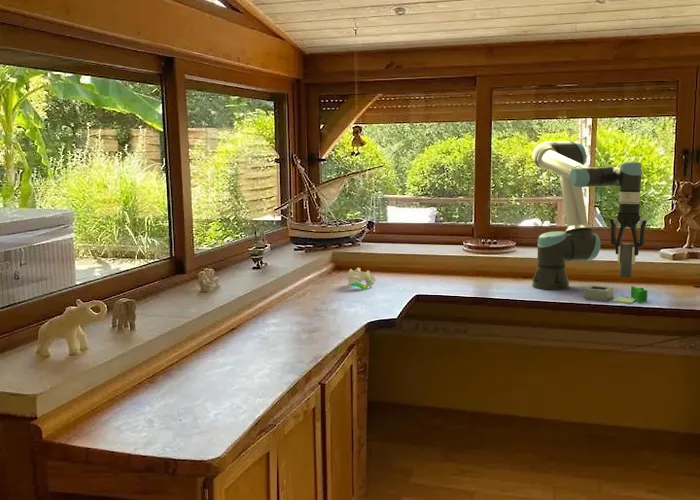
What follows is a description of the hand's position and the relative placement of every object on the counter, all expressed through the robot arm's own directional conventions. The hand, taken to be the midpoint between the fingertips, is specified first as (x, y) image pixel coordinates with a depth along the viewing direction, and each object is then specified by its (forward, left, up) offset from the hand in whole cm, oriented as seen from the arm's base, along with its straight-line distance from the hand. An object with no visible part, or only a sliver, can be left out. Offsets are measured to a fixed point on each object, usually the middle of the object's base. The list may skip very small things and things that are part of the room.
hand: (626, 263), depth 273 cm
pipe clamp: (+4, +6, -15) cm, 17 cm away
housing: (-10, +1, -15) cm, 18 cm away
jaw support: (-102, -34, -15) cm, 109 cm away
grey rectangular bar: (0, 0, -5) cm, 5 cm away
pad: (0, 0, -15) cm, 15 cm away
